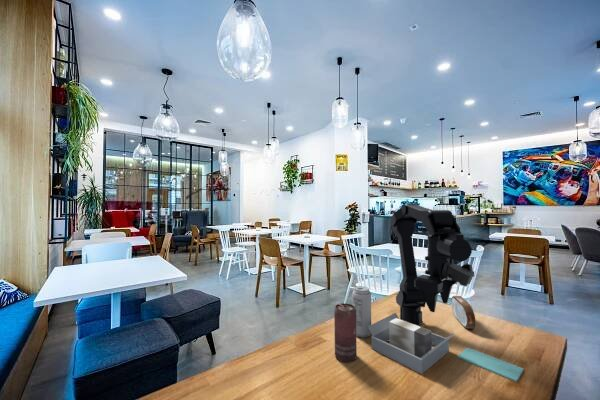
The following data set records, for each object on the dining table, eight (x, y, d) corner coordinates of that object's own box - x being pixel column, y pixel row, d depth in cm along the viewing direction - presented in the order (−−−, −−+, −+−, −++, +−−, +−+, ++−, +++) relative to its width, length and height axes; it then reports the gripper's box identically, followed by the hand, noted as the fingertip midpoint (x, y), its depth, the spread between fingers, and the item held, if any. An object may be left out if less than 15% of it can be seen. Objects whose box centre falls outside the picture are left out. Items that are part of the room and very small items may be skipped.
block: (389, 344, 81) (389, 321, 81) (396, 340, 84) (396, 317, 84) (425, 361, 72) (424, 335, 72) (431, 355, 75) (431, 330, 75)
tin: (476, 333, 87) (476, 307, 87) (466, 332, 88) (465, 307, 88) (459, 314, 102) (458, 292, 102) (450, 313, 103) (449, 292, 103)
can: (342, 347, 79) (342, 300, 80) (360, 356, 75) (360, 306, 75) (329, 355, 75) (329, 306, 75) (348, 365, 71) (347, 313, 71)
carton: (366, 346, 80) (366, 326, 80) (395, 329, 90) (395, 312, 90) (428, 377, 66) (428, 353, 66) (455, 353, 76) (455, 332, 76)
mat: (457, 357, 74) (457, 356, 74) (467, 348, 78) (467, 347, 78) (516, 381, 64) (516, 380, 64) (523, 370, 68) (523, 368, 68)
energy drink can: (374, 336, 86) (374, 290, 86) (357, 339, 84) (357, 292, 84) (366, 328, 91) (365, 284, 92) (349, 330, 90) (349, 286, 90)
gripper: (458, 263, 64) (458, 327, 65) (480, 252, 77) (481, 306, 77) (413, 256, 73) (413, 313, 73) (440, 247, 85) (440, 296, 85)
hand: (439, 307), depth 77 cm, fingers open, 9 cm apart
